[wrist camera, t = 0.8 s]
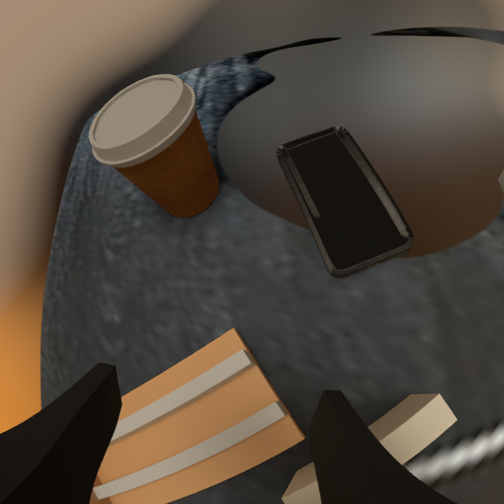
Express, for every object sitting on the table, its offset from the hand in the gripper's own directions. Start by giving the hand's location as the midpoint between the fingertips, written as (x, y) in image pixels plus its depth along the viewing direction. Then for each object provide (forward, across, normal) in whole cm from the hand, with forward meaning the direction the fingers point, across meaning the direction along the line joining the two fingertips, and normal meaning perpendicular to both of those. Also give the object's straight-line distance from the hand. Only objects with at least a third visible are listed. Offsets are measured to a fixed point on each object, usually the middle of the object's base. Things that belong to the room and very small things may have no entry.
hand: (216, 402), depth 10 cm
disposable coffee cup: (+25, +5, -2) cm, 26 cm away
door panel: (+5, -10, +10) cm, 15 cm away
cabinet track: (+8, +4, +14) cm, 17 cm away
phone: (+21, -9, -4) cm, 23 cm away
